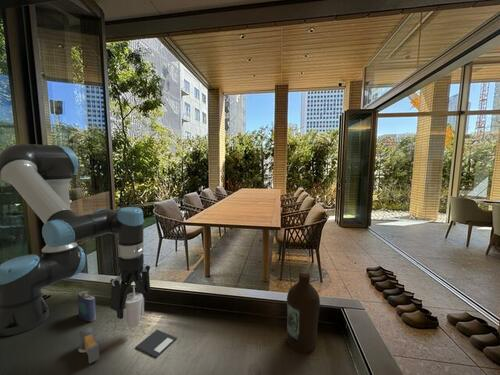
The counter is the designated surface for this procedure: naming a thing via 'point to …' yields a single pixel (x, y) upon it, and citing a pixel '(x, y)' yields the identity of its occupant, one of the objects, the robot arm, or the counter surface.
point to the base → (83, 350)
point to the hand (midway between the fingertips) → (131, 319)
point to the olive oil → (302, 314)
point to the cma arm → (89, 344)
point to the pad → (156, 343)
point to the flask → (86, 307)
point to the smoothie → (133, 308)
